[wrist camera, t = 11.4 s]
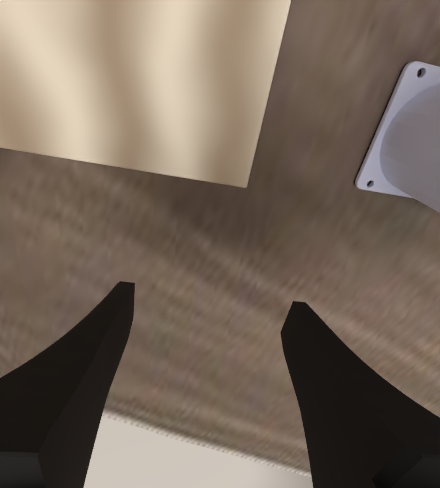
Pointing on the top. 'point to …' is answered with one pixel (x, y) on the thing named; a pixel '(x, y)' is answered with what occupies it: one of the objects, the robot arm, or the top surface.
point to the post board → (140, 82)
